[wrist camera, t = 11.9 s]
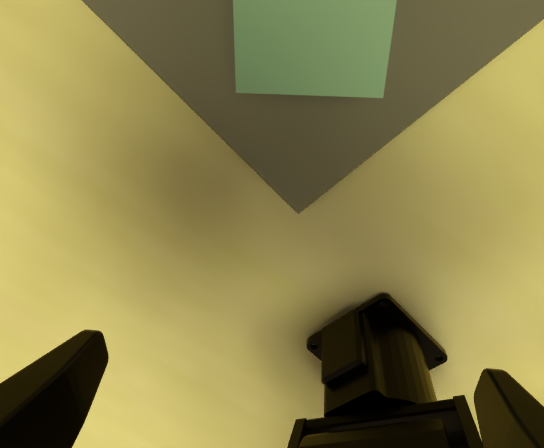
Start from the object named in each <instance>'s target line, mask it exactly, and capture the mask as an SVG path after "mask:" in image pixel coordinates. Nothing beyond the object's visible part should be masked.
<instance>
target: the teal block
mask: <svg viewBox="0 0 544 448" xmlns="http://www.w3.org/2000/svg"><path fill="white" fill-rule="evenodd" d="M396 2H397V0H233V17H234V48H235V79H236V93H254V94H282V95H311V96H339V97H368V98H383V96H384V88H385V81H386V74H387V67H388V60H389V53H390V45H391V38H392V31H393V24H394V17H395V10H396Z"/></svg>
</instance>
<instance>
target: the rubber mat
mask: <svg viewBox="0 0 544 448" xmlns="http://www.w3.org/2000/svg"><path fill="white" fill-rule="evenodd" d="M82 1H83V2H84V3H85V4H86V5H87V6H88V7H89V8H90V9H91V10H92V11H93V12H94V13H95V14H96V15H97V16H98V17H99V18H100V19H101V20H102V21H103V22H104V23H105V24H106V25H107V26H108V27H110V28H111V29H112V30H113V31H114V32H115V33H116V34H117V35H118V36H119V37H120V38H121V39H122V40H123V41H124V42H125V43H126V44H127V45H128V46H129V47H130V48H131V49H132V50H133V51H134V52H135V53H136V54H137V55H138V56H139V57H140V58H141V59H142V60H143V61H144V62H145V63H146V64H147V65H148V66H149V67H150V68H151V69H152V70H153V71H154V72H155V73H156V74H157V75H158V76H159V77H160V78H161V79H162V80H163V81H164V82H165V83H166V84H167V85H168V86H169V87H170V88H171V89H172V90H173V91H174V92H175V93H176V94H177V95H178V96H179V97H180V98H181V99H182V100H183V101H184V102H185V103H186V104H187V105H188V106H189V107H190V108H191V109H192V110H193V111H194V112H195V113H196V114H198V115H199V116H200V117H201V118H202V119H203V120H204V121H205V122H206V123H207V124H208V125H209V126H210V127H211V128H212V129H213V130H214V131H215V132H216V133H217V134H218V135H219V136H220V137H221V138H222V139H223V140H224V141H225V142H226V143H227V144H228V145H229V146H230V147H231V148H232V149H233V150H234V151H235V152H236V153H237V154H238V155H239V156H240V157H241V158H242V159H243V160H244V161H245V162H246V163H247V164H248V165H249V166H250V167H251V168H252V169H253V170H254V171H255V172H256V173H257V174H258V175H259V176H260V177H261V178H262V179H263V180H264V181H265V182H266V183H267V184H268V185H269V186H270V187H271V188H272V189H273V190H274V191H275V192H276V193H277V194H278V195H279V196H280V197H281V198H282V199H283V200H284V201H286V202H287V203H288V204H289V205H290V206H291V207H292V208H293V209H294V210H295V211H296V212H297V213H298V214H299V213H300V212H301V211H303V210H304V209H305V208H306V207H308V206H309V205H310V204H311V203H313V202H314V201H315V200H316V199H318V198H319V197H320V196H321V195H323V194H324V193H325V192H327V191H328V190H329V189H330V188H332V187H333V186H334V185H335V184H337V183H338V182H339V181H340V180H342V179H343V178H344V177H345V176H347V175H348V174H349V173H350V172H352V171H353V170H354V169H355V168H357V167H358V166H359V165H361V164H362V163H363V162H364V161H366V160H367V159H368V158H369V157H371V156H372V155H373V154H374V153H376V152H377V151H378V150H379V149H381V148H382V147H383V146H384V145H386V144H387V143H388V142H389V141H391V140H392V139H393V138H395V137H396V136H397V135H398V134H400V133H401V132H402V131H403V130H405V129H406V128H407V127H408V126H410V125H411V124H412V123H413V122H415V121H416V120H417V119H418V118H420V117H421V116H422V115H423V114H425V113H426V112H427V111H429V110H430V109H431V108H432V107H434V106H435V105H436V104H437V103H439V102H440V101H441V100H442V99H444V98H445V97H446V96H447V95H449V94H450V93H451V92H452V91H454V90H455V89H456V88H457V87H459V86H460V85H461V84H463V83H464V82H465V81H466V80H468V79H469V78H470V77H471V76H473V75H474V74H475V73H476V72H478V71H479V70H480V69H481V68H483V67H484V66H485V65H486V64H488V63H489V62H490V61H491V60H493V59H494V58H495V57H497V56H498V55H499V54H500V53H502V52H503V51H504V50H505V49H507V48H508V47H509V46H510V45H512V44H513V43H514V42H515V41H517V40H518V39H519V38H520V37H522V36H523V35H524V34H525V33H527V32H528V31H529V30H531V29H532V28H533V27H534V26H536V25H537V24H538V23H539V22H541V21H542V20H543V19H544V0H397V2H396V10H395V17H394V24H393V31H392V38H391V45H390V53H389V60H388V67H387V74H386V81H385V88H384V96H383V98H368V97H339V96H311V95H282V94H254V93H236V79H235V48H234V17H233V0H82Z"/></svg>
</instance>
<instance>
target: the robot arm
mask: <svg viewBox="0 0 544 448" xmlns="http://www.w3.org/2000/svg"><path fill="white" fill-rule="evenodd" d="M384 301H385V302H387V303H385V304H382V303H381V302H384ZM313 344H317V345H313ZM307 349H308V350H309V351H310V352H311V353H313V354H314V355H315V356H316V357H317V358H318V359H320V360H321V361H322V371H321V381H322V383H323V384H324V417H323V418H316V419H309V420H307V419H306V418H303V419H296V421H295V424H294V428H293V431H292V434H291V437H290V440H289V444H288V447H287V448H544V406H542V405H541V404H540V403H539V402H538V401H537V400H536V399H535V398H534V397H533V396H532V395H531V394H530V393H529V392H528V391H526V390H525V389H524V388H523V387H522V386H521V385H520V384H519V383H518V382H517V381H516V380H515V379H514V378H513V377H511V376H510V375H509V374H508V373H507V372H506V371H504V370H500V369H489V368H486V369H484V370H483V371H482V373H481V376H480V379H479V381H478V384H477V387H476V390H475V393H474V404H475V409H476V414H477V419H478V424H479V429H480V434H481V438H482V441H481V438H480V436H479V433H478V430H477V428H476V425H475V422H474V420H473V417H472V414H471V412H470V409H469V406H468V404H467V401H466V398H465V396H464V395H460V396H453V399H447V400H440V401H437V399H436V395H435V392H434V388H433V384H432V381H431V377H430V373H429V370H431V369H433V368H435V367H437V366H439V365H441V364H443V363H445V362H446V361H447V354H446V352H445V350H444V349H443V348H442V347H441V346H440V345H439V344H438V343H437V342H436V341H435V340H434V339H433V338H432V337H431V336H430V335H429V334H428V333H427V332H426V331H425V330H424V329H423V328H422V327H421V326H420V325H419V324H418V323H417V322H416V321H415V320H414V319H413V318H412V317H411V316H410V315H409V314H408V313H407V312H406V311H405V310H404V309H403V308H402V307H401V306H400V305H399V304H398V303H397V302H396V301H395V300H394V299H393V298H392V297H391V296H389V295H387V294H380V295H378V296H376V297H375V298H373V299H372V300H370V301H368V302H367V303H365V304H363V305H362V306H360V307H358V308H357V309H355V310H352V311H351V312H349V313H347V314H346V315H344V316H342V317H341V318H339V319H337V320H336V321H334V322H333V323H331V324H329V325H328V326H326V327H324V328H323V330H321V331H319V332H318V333H316V334H314V335H313V336H311V337H309V338H308V339H307ZM436 356H438V357H436ZM107 363H108V351H107V347H106V343H105V339H104V336H103V333H102V332H101V331H97V330H83V331H81V332H80V333H78V334H77V335H75V336H73V337H72V338H70V339H69V340H67V341H66V342H64V343H63V344H61V345H59V346H58V347H56V348H55V349H53V350H52V351H50V352H49V353H47V354H45V355H44V356H42V357H41V358H39V359H38V360H36V361H34V362H33V363H31V364H30V365H28V366H27V367H25V368H24V369H22V370H20V371H19V372H17V373H16V374H14V375H13V376H11V377H10V378H8V379H6V380H5V381H3V382H2V383H0V448H72V446H73V444H74V442H75V440H76V438H77V436H78V434H79V432H80V430H81V428H82V426H83V424H84V422H85V419H86V417H87V415H88V412H89V410H90V407H91V405H92V402H93V400H94V397H95V394H96V392H97V389H98V387H99V384H100V382H101V379H102V377H103V374H104V371H105V369H106V366H107Z"/></svg>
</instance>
